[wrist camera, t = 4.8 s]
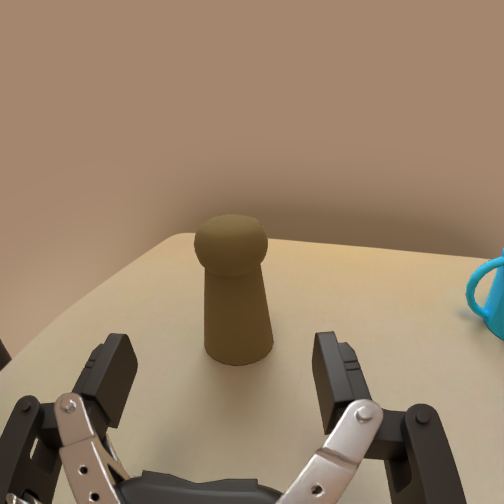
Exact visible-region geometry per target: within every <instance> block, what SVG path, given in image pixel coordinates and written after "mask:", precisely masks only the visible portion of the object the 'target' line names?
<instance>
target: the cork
mask: <svg viewBox="0 0 504 504" xmlns="http://www.w3.org/2000/svg"><path fill="white" fill-rule="evenodd" d="M194 247H195V253H196V255H197V257H198V260H199V262H200V264H201V265H202V266H203V267H205V289H204V344H205V348H206V351H207V353H208V354H209V355H210V356H211V357H212V358H213V359H215V360H217V361H219V362H221V363H224V364H230V365H246V364H249V363H253V362H256V361H258V360H260V359H261V358H263V357H265V356H266V355H267V354H268V352H269V351H270V350H271V348H272V345H273V342H274V341H273V335H272V329H271V323H270V317H269V312H268V306H267V300H266V294H265V288H264V282H263V277H262V271H261V265H260V264H261V262H262V261H263V259H264V257H265V255H266V252H267V248H268V239H267V235H266V232H265V228H264V227H263V226H262V224H261V223H260V222H259V221H258V220H256V219H254V218H252V217H249V216H245V215H224V216H218V217H214V218H211V219H209V220H207V221H205V222H204V223H203V224H202V225H200V226H199V228H198V230H197V232H196V235H195V241H194Z"/></svg>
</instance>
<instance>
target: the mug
mask: <svg viewBox="0 0 504 504" xmlns="http://www.w3.org/2000/svg"><path fill="white" fill-rule="evenodd" d="M495 268H497V272H496V275H495V278H494V281H493V284H492V286H491V289H490V292H489V295H488V297H487V300H486V303H485V305H484V308H481V307H479V306H478V305H477V303H476V302H475V298H474V292H475V288H476V286H477V284H478V282H479V280H480V279H481V278H482V277H483V276H484V275H485V274H486V273H488V272H490V271H491V270H493V269H495ZM466 298H467V302H468V305H469V306H470V308H471V309H472V310H473V312H474V313H476V314H477V315H479V316H481V317H483V319H484V322H485V323H486V325H487V327H488V328H489V329H490V330H491V331H492V332H493V333H494V334H495V335H496V336H498V337H499V338H501V339H502V340H504V248H503V252H502V256H501V257H499V258H495V259H492V260H489V261H487V262H486V263H484V264H483V265H481V266H480V267H479V268H478V269H477V270H476V271H475V272H474V273H473V274H472V275H471V277H470V279H469V281H468V283H467V288H466Z"/></svg>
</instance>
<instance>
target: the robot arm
mask: <svg viewBox="0 0 504 504" xmlns="http://www.w3.org/2000/svg"><path fill="white" fill-rule="evenodd" d="M137 368H138V362H137V358H136V355H135V353H134V350H133V348H132V345H131V342H130V340H129V337H128V335H126V334H116V333H111V334H109V335H108V337H107V339H106V341H105V343H104V344H100V345H99V346H98V347H96V348H95V349H94V350H93V351H92V353H91V355H90V357H89V359H88V361H87V363H86V365H85V368H83V370H82V372H81V374H80V376H79V378H78V380H77V382H76V384H75V386H74V388H73V390H72V392H71V393H66V394H63V395H61V396H60V397H59V398H58V399H57V400H56V402H55V403H43V404H40V402H39V401H38V400H37V398H36V397H34V396H31V395H28V396H24V397H22V398H21V399H19V400H18V402H17V403H16V405H15V407H14V409H13V411H12V413H11V415H10V417H9V420H8V422H7V424H6V426H5V428H4V431H3V433H2V435H1V438H0V504H52V500H53V496H54V492H55V488H56V484H57V480H58V477H59V473H60V470H61V466H62V463H63V467H64V470H65V473H66V476H67V479H68V482H69V484H70V487H71V490H72V493H73V495H74V498H75V500H76V503H77V504H336V503H337V501H338V500H339V498H340V497H341V495H342V494H343V492H344V491H345V489H346V487H347V486H348V484H349V483H350V481H351V479H352V478H353V476H354V474H355V472H356V471H357V469H358V467H359V465H360V463H361V461H362V459H363V458H366V459H379V460H384V464H385V469H386V474H387V479H388V485H389V490H390V496H391V502H392V504H467V503H466V499H465V495H464V492H463V488H462V484H461V481H460V477H459V474H458V471H457V467H456V464H455V461H454V458H453V455H452V452H451V449H450V446H449V443H448V440H447V437H446V434H445V432H444V429H443V426H442V423H441V421H440V418H439V415H438V413H437V412H436V410H435V409H434V408H433V407H431V406H429V405H427V404H416V405H413V406H411V407H410V408H409V409H408V410H407V412H402V411H390V410H385V409H383V408H381V407H380V406H379V405H378V404H377V403H376V402H374V401H373V400H372V398H371V396H370V393H369V390H368V387H367V384H366V381H365V378H364V376H363V373H362V370H361V367H360V364H359V362H358V359H357V356H356V354H355V351H354V350H353V349H352V348H351V346H350V345H349V344H348V343H347V342H345V343H338V342H337V339H336V336H335V333H334V332H333V331H332V332H320V333H316V334H315V339H314V348H313V356H312V370H313V376H314V381H315V386H316V391H317V396H318V401H319V406H320V411H321V417H322V422H323V427H324V433H325V435H328V434H330V435H329V437H328V438H327V440H326V441H325V443H324V444H323V446H322V447H321V448H320V449H318V450H317V451H316V452H315V453H314V455H313V456H312V457H311V459H310V460H309V461H308V463H307V464H306V465H305V467H304V468H303V469H302V471H301V472H300V473H299V475H298V476H297V477H296V479H295V480H294V481H293V482H292V484H291V485H290V486H289V487H288V489H287V490H286V491H285V492H284V493H281V492H279V491H278V490H275V489H273V488H270V487H267V486H263V485H258V480H257V479H223V480H218V481H212V482H205V483H193V482H190V481H187V480H184V479H181V478H178V477H176V476H173V475H170V474H164V473H157V472H151V471H145V470H143V472H142V476H140V477H134V478H130V477H129V475H128V474H127V472H126V471H125V470H124V468H123V466H122V464H121V462H120V460H119V458H118V456H117V454H116V452H115V450H114V448H113V445H112V443H111V441H110V439H109V436H108V434H107V433H106V431H107V428H108V427H112V428H118V425H119V422H120V418H121V415H122V412H123V410H124V407H125V404H126V401H127V398H128V395H129V392H130V389H131V386H132V384H133V381H134V378H135V375H136V373H137ZM36 438H37V439H38V442H37V445H36V448H35V450H34V453H33V456H32V459H30V452H31V449H32V447H33V444H34V441H35V439H36Z"/></svg>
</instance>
